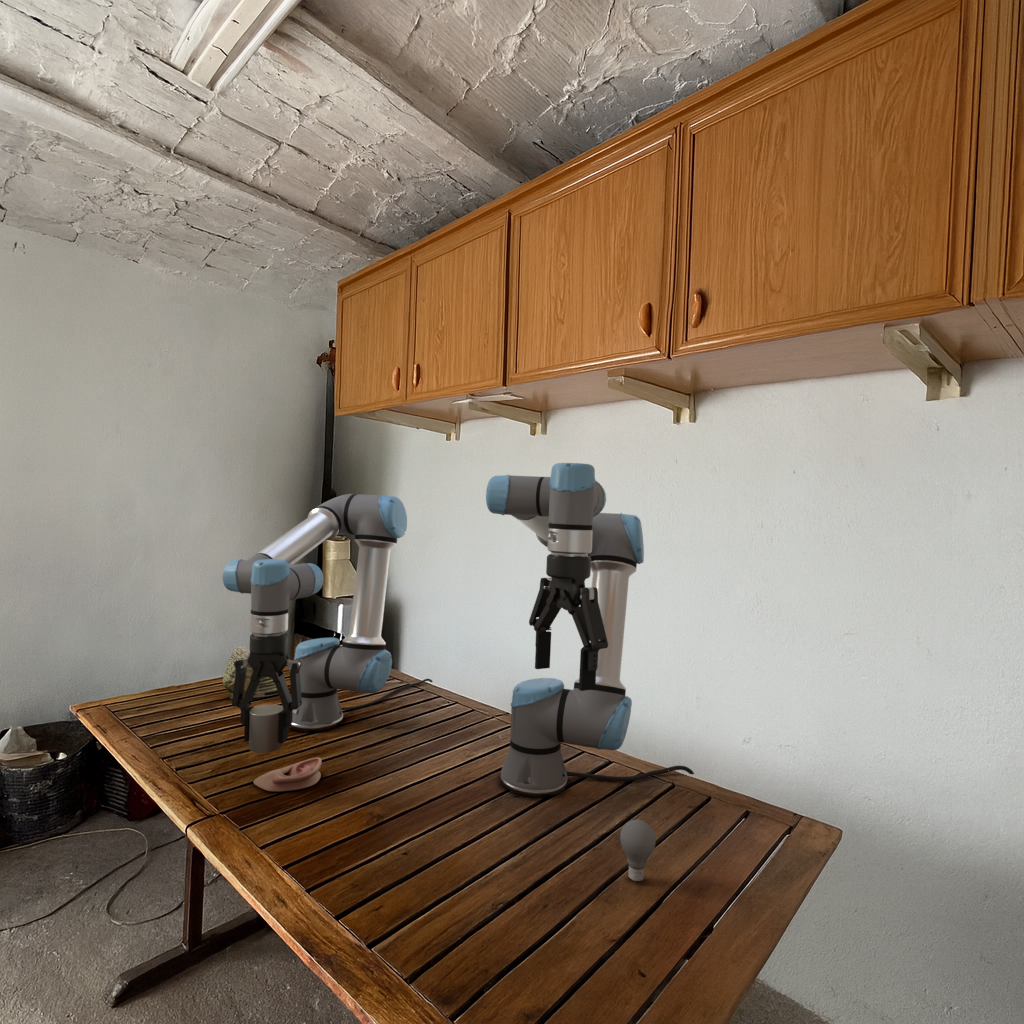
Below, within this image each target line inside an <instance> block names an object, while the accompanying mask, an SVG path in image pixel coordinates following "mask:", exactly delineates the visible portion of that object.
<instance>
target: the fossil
mask: <svg viewBox="0 0 1024 1024" xmlns="http://www.w3.org/2000/svg"><path fill="white" fill-rule="evenodd" d="M249 649H250V647H247V646H246V647H245V646H238V647H237V648H236V649H235V650H233V651H232V653H231V656H230V657H229V659H228V660H227V663H226V666H225V668H224V671H223V675H222V676H223V677H222V685H223V687H224V688H225V690H226V691H228V693H229V698H230V699H232V697H233V690H234V682H235V675H236V670H235V665H234V662H235V661H237V660H238V659H240V658H248V656H249V654H250V650H249ZM252 673H253V669H252V668H251V666H250V665H249V663H248V667H247V668H246V678H245V685H244V693H243V698H244V695H245V693H246V690H247V688H248V685H249V683H250V680H251V679H250V678H251V676H252ZM285 681H286V682H287V680H286V679H285ZM275 695H279V694H278V691H277V688H276V685H275V683H274V682H273V679H272V678H269V677H262V678H261V679H260V682H259V684H258V687H257V689H256V692H255V694H254V697H253V698H264V697H271V696H275Z"/></svg>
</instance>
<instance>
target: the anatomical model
mask: <svg viewBox="0 0 1024 1024" xmlns="http://www.w3.org/2000/svg"><path fill="white" fill-rule="evenodd" d="M322 762H323V761H322V758H321V757H312V758H308V759H305V760H301V761H299V762H296V763H293V764H290V765H287V766H285V767H281V768H278V769H273V770H271V771H268V772H265V773H264V774H262V775H259V776H258V777H257V778H255V779H254V780H253V784H254V785H255V786H257V787H258V788H259V789H262V790H263V791H264V790H265V791H267V792H289V791H297V790H301V789H305V788H309V787H312V786H314V785H316V784H317V783H318V782H319V781H320V779H321V777H322V774H321V772H320V771H319V770H320V769H321V767H322Z"/></svg>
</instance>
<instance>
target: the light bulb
mask: <svg viewBox="0 0 1024 1024" xmlns="http://www.w3.org/2000/svg"><path fill="white" fill-rule="evenodd" d="M619 840H620V845H621V847H622V850H623V851H624V854H625V856H626V862H627V864H628V875H627V876H628V878H629V879H631V880H632V881H634V882H641V881H643V880H644V876H645V867H646V866H647V861H648V859H649V858H650V856H651V855H652V853H653V852H654V850H655V847H656V843H657V839H656V834H655V831H654V830H653V828H652V827H651V825H649V823H648V822H646V821H645V820H642V819H631V820H629V821H627V822H626V823H625V824H624V825H623V827H622V828H621V830H620V835H619Z"/></svg>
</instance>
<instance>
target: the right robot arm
mask: <svg viewBox="0 0 1024 1024" xmlns="http://www.w3.org/2000/svg"><path fill="white" fill-rule="evenodd" d="M550 471H551V472H550V476H536V475H535V476H534V475H533V476H531V475H511V474H503V475H494V476H492V477H490V479H489V480H488V481H487V485H486V490H485V502H486V507H487V510H488V511H489V512H490V513H492V514H494V515H501V516H505V515H506V516H512V517H513V518H514V519H516V520H517V521H519V522H520V523H521V524H522V525H524V526H525V527H527V528H528V529H529V530H530V531H532V532H533V533H534V534H535V535H536V538H537V540H538V541H539V543H540V544H542V545H543V546H545V548H547V551H548V552H550V553H549V554H547V556H546V567H545V574H546V576H547V577H541V578H540V581H539V590H538V593H537V596H536V599H535V601H534V604H533V607H532V611H531V613H530V617H529V620H528V625H529V626H530V627H533V630H534V631H535V655H534V656H535V657H534V669H535V670H544V669H550V668H551V650H552V649H551V648H552V627H551V626H552V625H553V623H554V621H555V619H556V618H557V616H558V614H559V613H560V612H561V609H563V610H565V611H567V613H568V614H569V615H571V616H572V619H573V622H574V624H575V627H576V630H577V633H578V635H579V638H580V641H581V643H582V645H583V646H582V647H581V648H580V655H579V656H580V657H579V660H580V661H579V676H578V678H576V679H575V680H574V683H573V689H570V688H565V684H564V682H563V681H562V680H561V679H557V678H552V677H537V678H531V679H526V680H523V681H520V682H519V683H517V684H516V685H515V686H514V687H513V690H512V697H511V703H510V707H511V710H510V735H509V737H510V739H509V749H508V751H507V754H506V757H505V759H504V761H503V765H502V767H501V771H500V784H501V786H502V787H503V788H505V790H508V792H511V793H513V794H516V795H518V796H523V797H530V798H531V797H532V798H547V797H552V796H555V795H559V794H561V793H562V792H563V791H565V790H566V788H567V787H568V777H574V778H582V779H591V780H600V781H609V782H610V781H611V782H634V781H639V780H642V779H646V778H650V777H652V776H656V775H663V774H667V773H670V772H674V771H684V772H686V773H688V774H689V775H695V772H694V771H693V770H692V768H689V767H688V766H686V765H672V766H669V767H665V768H661V769H655V770H651V771H647V772H644V773H640V774H637V775H628V776H614V775H603V774H594V773H585V772H577V771H567V770H566V765H565V763H564V758H563V755H562V750H561V749H562V748H561V747H562V743H563V744H568V745H574V746H580V747H586V748H590V749H591V748H592V749H597V750H599V751H600V750H606V751H607V750H608V751H617V750H619V749H620V748H621V747H622V746H623V745H624V741H625V739H626V736H627V733H628V729H629V724H630V719H631V715H632V706H633V702H632V701H633V700H632V698H631V697H629V696H627V694H626V692H627V688H626V686H625V685H624V684H623V683H622V681H621V673H622V672H621V671H622V660H623V651H624V650H623V649H624V638H625V637H624V636H625V629H626V628H625V626H626V616H627V606H628V605H627V604H628V592H629V583H630V582H629V581H630V577H631V576H632V575H634V574H635V573H636V572H637V564H638V565H640V564H643V563H644V561H645V549H644V548H645V546H644V545H645V544H644V534H643V527H642V521H641V518H640V517H638V515H635V514H628V513H627V514H626V513H623V512H620V513H611V512H603V510H604V508H605V507H606V503H607V493H606V490H605V488H604V487H603V485H601V483H600V482H599V481H597V479H596V470H595V467H594V466H593V465H592V464H590V463H579V462H557V463H554V464H553V466H551V470H550ZM591 572H592V580H591V586H590V587H586V583H585V582H586V580H587V579H589V578H591ZM668 770H669V771H668Z"/></svg>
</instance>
